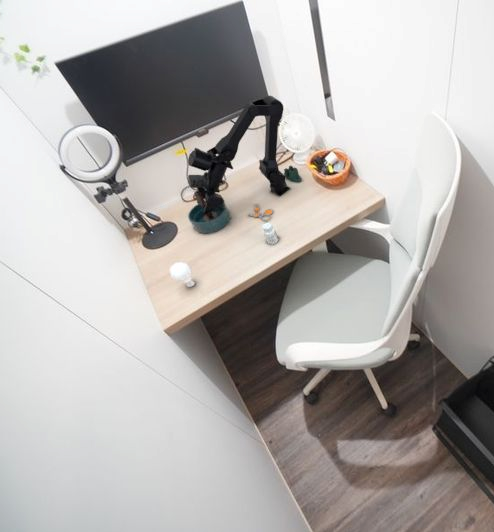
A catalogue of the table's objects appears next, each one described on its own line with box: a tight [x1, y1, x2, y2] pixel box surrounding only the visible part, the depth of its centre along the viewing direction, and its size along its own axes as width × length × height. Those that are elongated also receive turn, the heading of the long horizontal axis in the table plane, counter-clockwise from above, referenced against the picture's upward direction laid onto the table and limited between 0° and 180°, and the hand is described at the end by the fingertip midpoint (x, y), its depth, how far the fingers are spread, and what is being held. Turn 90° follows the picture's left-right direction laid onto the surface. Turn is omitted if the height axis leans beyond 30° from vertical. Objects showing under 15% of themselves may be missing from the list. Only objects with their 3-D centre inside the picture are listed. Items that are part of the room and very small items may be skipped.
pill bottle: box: [262, 222, 279, 245], centre depth 121 cm, size 4×4×8 cm
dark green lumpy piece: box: [283, 165, 303, 183], centre depth 149 cm, size 11×4×5 cm, turn 48°
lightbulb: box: [169, 261, 196, 288], centre depth 109 cm, size 6×6×11 cm
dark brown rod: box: [193, 190, 218, 222], centre depth 130 cm, size 6×6×15 cm
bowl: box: [188, 201, 231, 234], centre depth 133 cm, size 15×15×6 cm
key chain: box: [248, 203, 273, 222], centre depth 135 cm, size 13×7×1 cm, turn 54°
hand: (201, 208), depth 129 cm, fingers open, 9 cm apart
